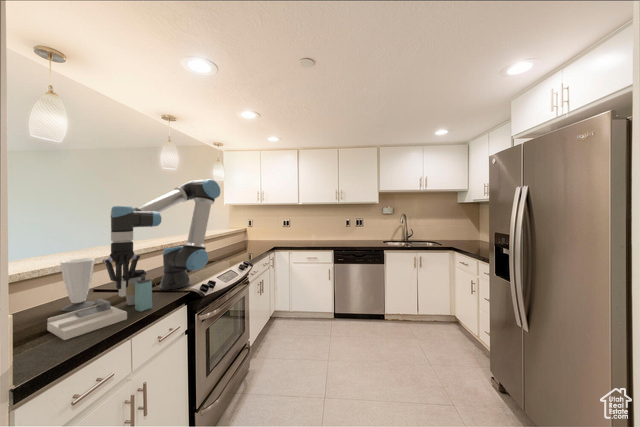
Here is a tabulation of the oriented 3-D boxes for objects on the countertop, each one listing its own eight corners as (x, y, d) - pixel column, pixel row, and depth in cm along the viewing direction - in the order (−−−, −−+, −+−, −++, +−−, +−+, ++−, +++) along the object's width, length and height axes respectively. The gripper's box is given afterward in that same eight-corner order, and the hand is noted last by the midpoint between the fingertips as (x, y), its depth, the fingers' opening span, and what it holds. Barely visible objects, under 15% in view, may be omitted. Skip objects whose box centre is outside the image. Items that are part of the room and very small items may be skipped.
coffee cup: (133, 307, 109) (132, 274, 109) (116, 305, 111) (116, 273, 111) (151, 299, 119) (151, 269, 119) (136, 298, 121) (135, 269, 121)
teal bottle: (146, 305, 111) (146, 273, 111) (152, 307, 109) (151, 274, 109) (135, 309, 107) (134, 276, 107) (140, 311, 105) (140, 277, 104)
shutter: (100, 307, 101) (100, 298, 101) (110, 311, 97) (110, 302, 97) (75, 314, 94) (75, 304, 94) (85, 318, 90) (85, 308, 90)
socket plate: (108, 312, 104) (108, 301, 104) (127, 319, 97) (126, 308, 97) (47, 330, 88) (47, 318, 88) (64, 340, 81) (64, 327, 81)
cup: (52, 312, 105) (52, 263, 105) (74, 303, 116) (73, 258, 116) (83, 310, 107) (83, 261, 107) (101, 300, 118) (101, 257, 118)
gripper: (135, 239, 112) (135, 290, 111) (99, 242, 100) (99, 299, 100) (143, 240, 108) (143, 292, 108) (107, 243, 97) (107, 302, 96)
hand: (122, 295), depth 104 cm, fingers closed
